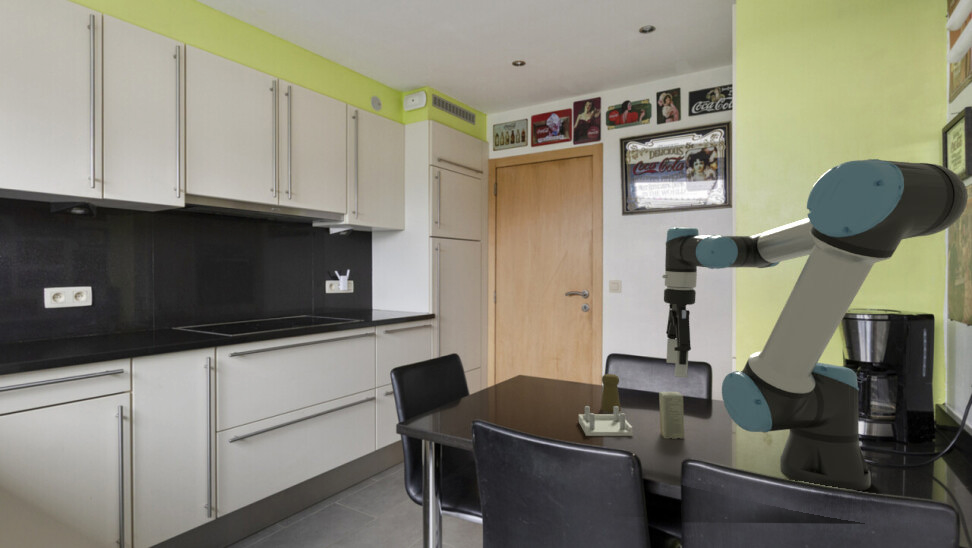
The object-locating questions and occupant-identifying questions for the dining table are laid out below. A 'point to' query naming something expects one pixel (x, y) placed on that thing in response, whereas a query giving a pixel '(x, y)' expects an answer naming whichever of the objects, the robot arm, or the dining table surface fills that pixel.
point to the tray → (605, 423)
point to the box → (671, 415)
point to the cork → (610, 393)
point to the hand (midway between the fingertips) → (676, 369)
